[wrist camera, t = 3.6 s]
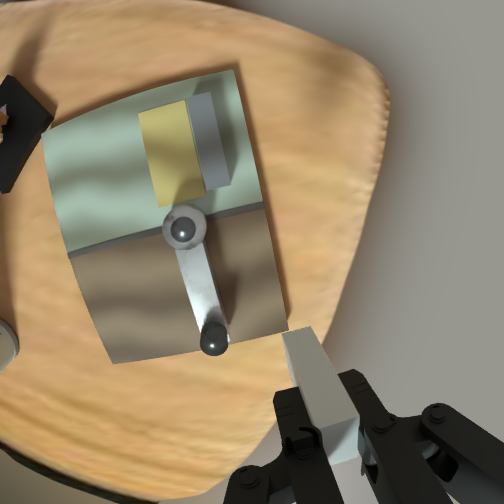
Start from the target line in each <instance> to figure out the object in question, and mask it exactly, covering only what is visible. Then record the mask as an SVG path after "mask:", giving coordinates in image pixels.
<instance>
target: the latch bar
mask: <svg viewBox="0 0 504 504" xmlns="http://www.w3.org/2000/svg"><path fill="white" fill-rule="evenodd" d="M206 230H207V218H206V215H205V213H204V212H203V211H202V210H201V209H200V208H199V207H198V206H196V205H193V204H181V205H179V206H177V207H175V208H174V209H173V210H171V211H170V212H169V213H168V214H167V215H166V217H165V219H164V221H163V225H162V231H163V235H164V238H165V240H166V241H167V242H168V243H169V244H170V245H171V246H172V247H174V248H175V252H176V256H177V259H178V263H179V266H180V270H181V273H182V276H183V280H184V283H185V286H186V289H187V293H188V296H189V299H190V302H191V305H192V308H193V312H194V315H195V318H196V321H197V324H198V327H199V330H200V333H201V336H200V348H201V350H202V351H203V352H204V353H205V354H207V355H210V356H218V355H221V354H223V353H224V352H225V351H226V350H227V348H228V341H230V330H229V325H228V322H227V318H226V315H225V311H224V308H223V304H222V301H221V297H220V294H219V290H218V286H217V283H216V279H215V275H214V272H213V268H212V264H211V260H210V257H209V253H208V249H207V245H206V241H205V237H204V236H205V233H206Z"/></svg>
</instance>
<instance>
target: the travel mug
mask: <svg viewBox="0 0 504 504" xmlns="http://www.w3.org/2000/svg"><path fill="white" fill-rule="evenodd" d="M18 353H19V344H18V340H17V338H16V335H15V334H14V332H13V330H12V329H11V328H10V326H9V325H8V324H7V323H5V322H4V321H3V320H1V319H0V374H1V373H2V371H3V370H4V369H5V368H6V367H7V366H8V365H9V364H10V362H11V361H12V360H13V359H14V358H15V357H16V356H17V355H18Z"/></svg>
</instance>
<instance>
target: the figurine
mask: <svg viewBox="0 0 504 504" xmlns="http://www.w3.org/2000/svg"><path fill="white" fill-rule="evenodd" d="M53 119H54V117H53V116H52V115H51V114H50V113H49V112H48V111H47V110H46V109H45V108H44V107H43V106H42V105H41V104H40V103H39V102H38V101H37V100H36V99H35V98H34V97H33V96H32V95H31V94H30V93H29V92H28V91H27V90H26V89H25V88H24V87H23V86H22V85H21V84H20V83H19V82H18V81H17V80H16V79H15V78H14V77H13V76H10V75H7V76H6V77H5V79H4V80H3V82H2V84H1V85H0V191H1V193H2V194H5V193H10V191H11V189H12V187H13V185H14V183H15V181H16V180H17V178H18V176H19V174H20V172H21V170H22V169H23V167H24V165H25V163H26V162H27V160H28V158H29V156H30V155H31V153H32V151H33V150H34V148H35V147H36V145H37V143H38V142H39V140H40V139H41V134H42V133H44V132H45V131H46V130H47V128H48V127H49V125H50V124H51V122H52V121H53Z"/></svg>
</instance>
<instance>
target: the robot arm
mask: <svg viewBox="0 0 504 504" xmlns="http://www.w3.org/2000/svg"><path fill="white" fill-rule="evenodd" d="M282 338H283V343H284V348H285V353H286V358H287V363H288V368H289V373H290V377H291V380H292V383H293V386H294V387H293V388H289V389H285V390H281V391H277V392H275V395H274V398H273V404H274V409H275V413H276V417H277V422H278V426H279V431H280V435H281V439H282V447H283V448H282V451H281V453H280V455H279V456H278V457H277V458H276V459H275V460H274V461H272V462H271V463H268V464H266V465H264V466H263V467H259V466H254V465H249V466H243V467H241V468H239V469H237V470H236V471H235V472H233V473H232V475H231V477H230V479H229V482H228V486H227V490H226V494H225V498H224V502H223V504H292V503H294V502H296V504H344V501H343V499H342V496H341V493H340V491H339V488H338V485H337V482H336V480H335V477H334V474H333V472H332V469H331V465H335V464H338V463H341V462H344V461H347V460H350V459H353V458H356V457H358V451H359V453H360V455H361V457H362V465H361V475H362V476H363V475H364V473H365V474H366V476H367V478H368V481H369V483H370V485H371V487H372V489H373V491H374V494H375V496H376V498H377V501H378V502H379V504H453V502H452V501H451V499H450V497H449V496H448V494H449V495H451V496H452V497H453V498H454V499H455V500H456V501H458V502H459V503H460V504H504V443H503V442H502V441H500V440H499V439H497V438H496V437H494V436H493V435H491V434H490V433H488V432H487V431H485V430H484V429H482V428H481V427H480V426H478V425H477V424H475V423H474V422H472V421H471V420H469V419H468V418H466V417H465V416H463V415H462V414H460V413H459V412H457V411H456V410H455V409H453V408H452V407H450V406H449V405H446V404H444V403H436V404H431V405H430V406H428V407H426V408H425V409H424V410H423V412H422V415H418V416H412V417H403V418H402V417H397V416H395V415H393V414H391V413H389V412H388V411H387V410H386V409H385V407H384V406H383V404H382V403H381V401H380V400H379V398H378V397H377V395H376V394H375V392H374V391H373V389H372V388H371V386H370V385H369V383H368V381H367V380H366V378H365V377H364V375H363V374H362V373H360V372H358V371H357V370H355V369H352V370H349V371H346V372H343V373H339V374H337V373H336V371H335V370H334V368H333V366H332V364H331V362H330V361H329V359H328V357H327V355H326V353H325V351H324V350H323V348H322V346H321V344H320V342H319V341H318V339H317V337H316V335H315V333H314V332H313V330H312V328H311V326H309V327H305V328H302V329H298V330H294V331H290V332H286V333H282ZM446 492H447V493H448V494H447V493H446Z"/></svg>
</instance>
